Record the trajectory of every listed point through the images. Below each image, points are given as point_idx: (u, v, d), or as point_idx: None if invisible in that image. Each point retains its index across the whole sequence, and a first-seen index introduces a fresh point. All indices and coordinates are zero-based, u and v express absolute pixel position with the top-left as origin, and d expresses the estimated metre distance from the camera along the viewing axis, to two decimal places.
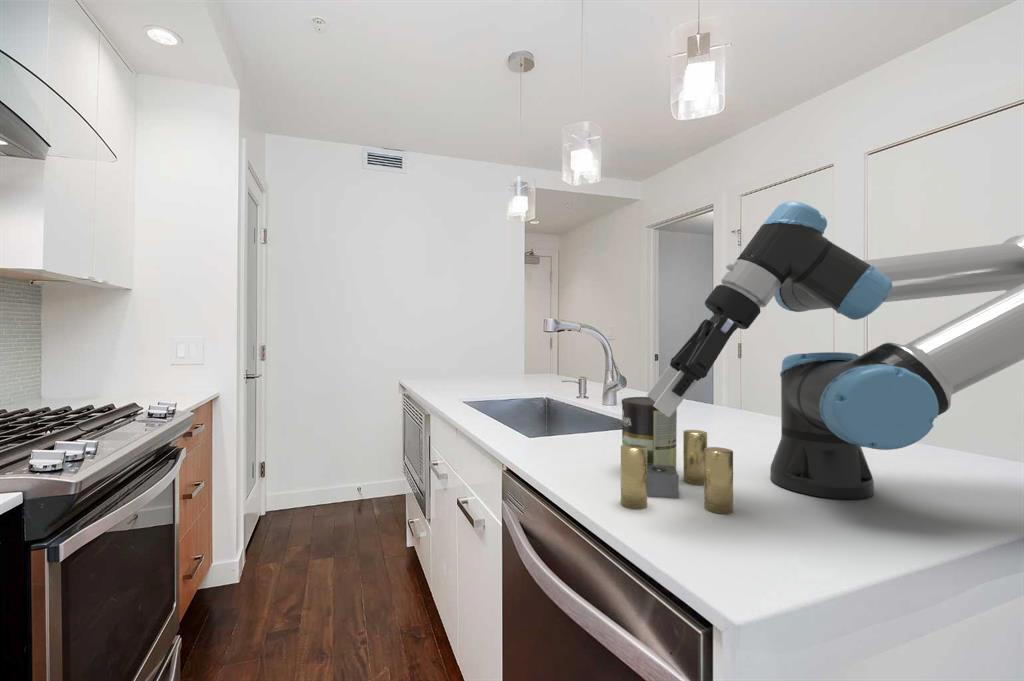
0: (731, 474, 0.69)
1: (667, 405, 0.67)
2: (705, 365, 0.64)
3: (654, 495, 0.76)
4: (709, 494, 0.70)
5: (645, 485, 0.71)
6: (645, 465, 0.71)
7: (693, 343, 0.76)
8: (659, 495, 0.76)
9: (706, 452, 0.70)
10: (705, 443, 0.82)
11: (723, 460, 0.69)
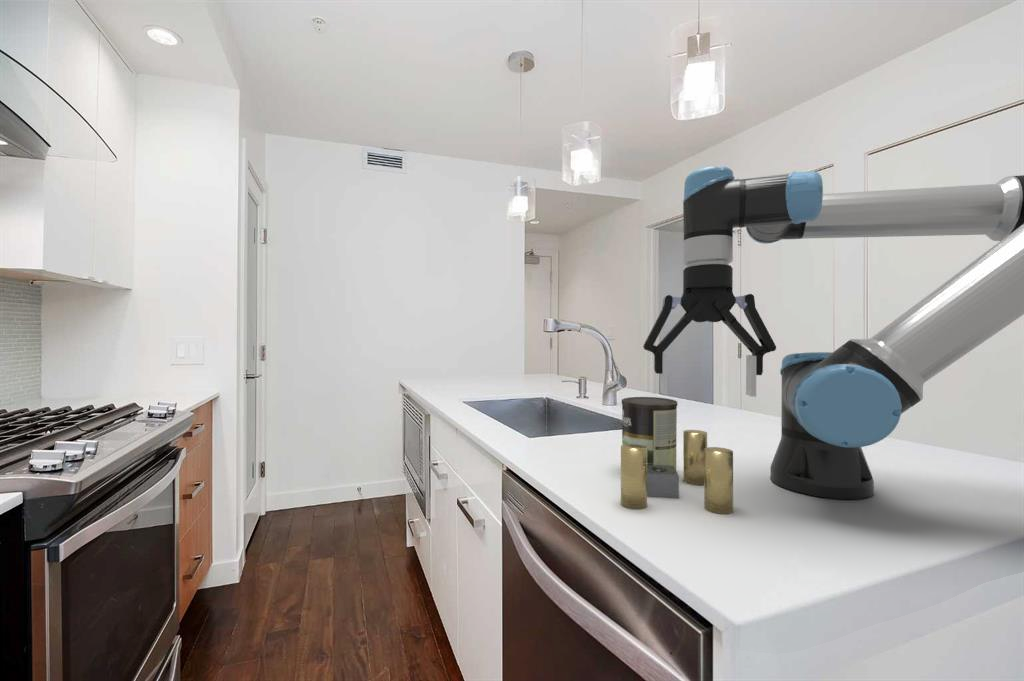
0: (731, 474, 0.69)
1: (661, 385, 0.78)
2: (647, 340, 0.78)
3: (655, 495, 0.76)
4: (709, 494, 0.70)
5: (645, 485, 0.71)
6: (645, 465, 0.71)
7: (726, 324, 0.77)
8: (659, 495, 0.76)
9: (706, 452, 0.70)
10: (705, 443, 0.82)
11: (723, 460, 0.69)
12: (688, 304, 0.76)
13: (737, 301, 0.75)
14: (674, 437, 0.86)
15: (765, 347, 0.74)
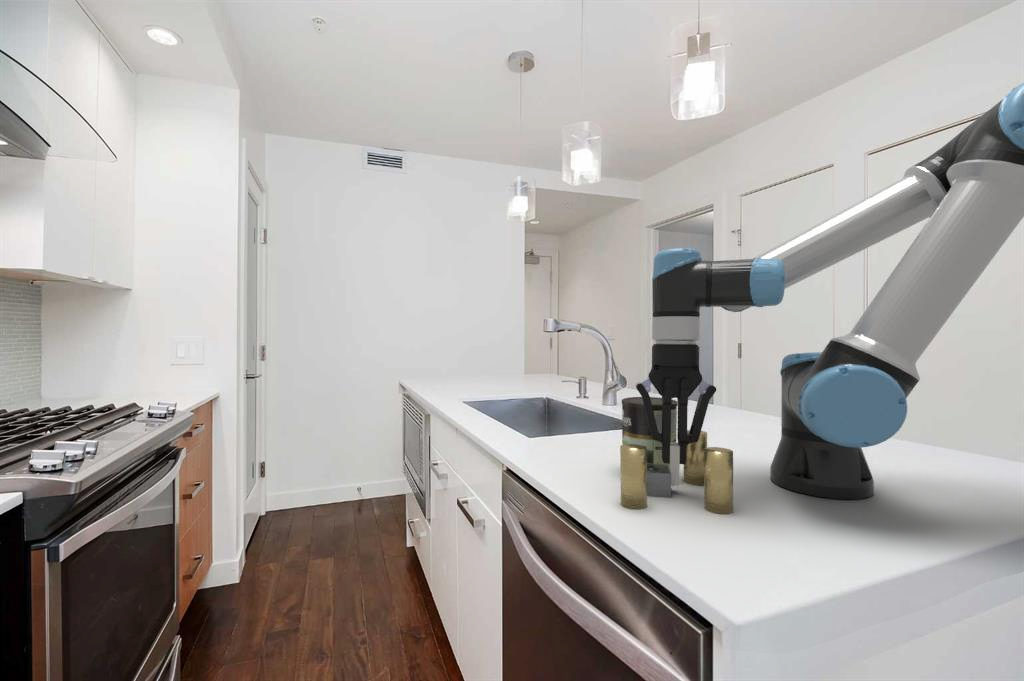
0: (731, 474, 0.69)
1: None
2: (650, 431, 0.78)
3: (647, 493, 0.76)
4: (709, 494, 0.70)
5: (645, 485, 0.71)
6: (645, 464, 0.71)
7: (678, 402, 0.79)
8: (652, 494, 0.76)
9: (706, 452, 0.70)
10: (705, 443, 0.82)
11: (723, 460, 0.69)
12: (658, 380, 0.77)
13: (700, 385, 0.77)
14: (674, 437, 0.86)
15: (690, 434, 0.77)
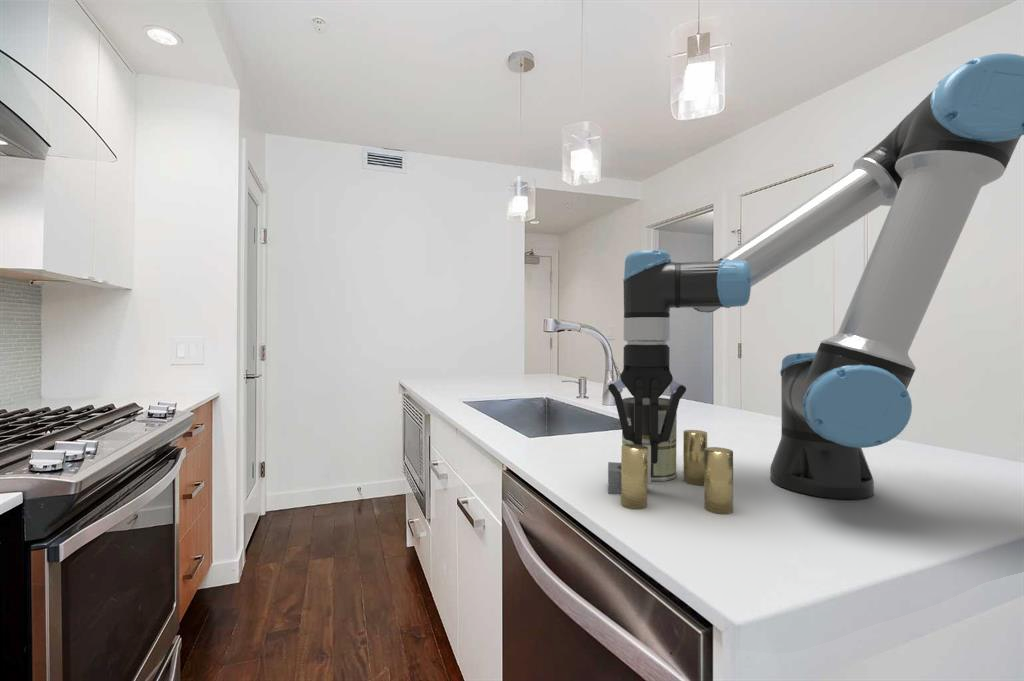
0: (731, 474, 0.69)
1: None
2: None
3: (619, 492, 0.77)
4: (709, 494, 0.70)
5: (645, 485, 0.71)
6: (646, 465, 0.71)
7: (649, 402, 0.80)
8: None
9: (706, 452, 0.70)
10: (705, 443, 0.82)
11: (723, 460, 0.69)
12: (629, 380, 0.78)
13: (671, 385, 0.78)
14: (674, 437, 0.86)
15: (661, 434, 0.78)
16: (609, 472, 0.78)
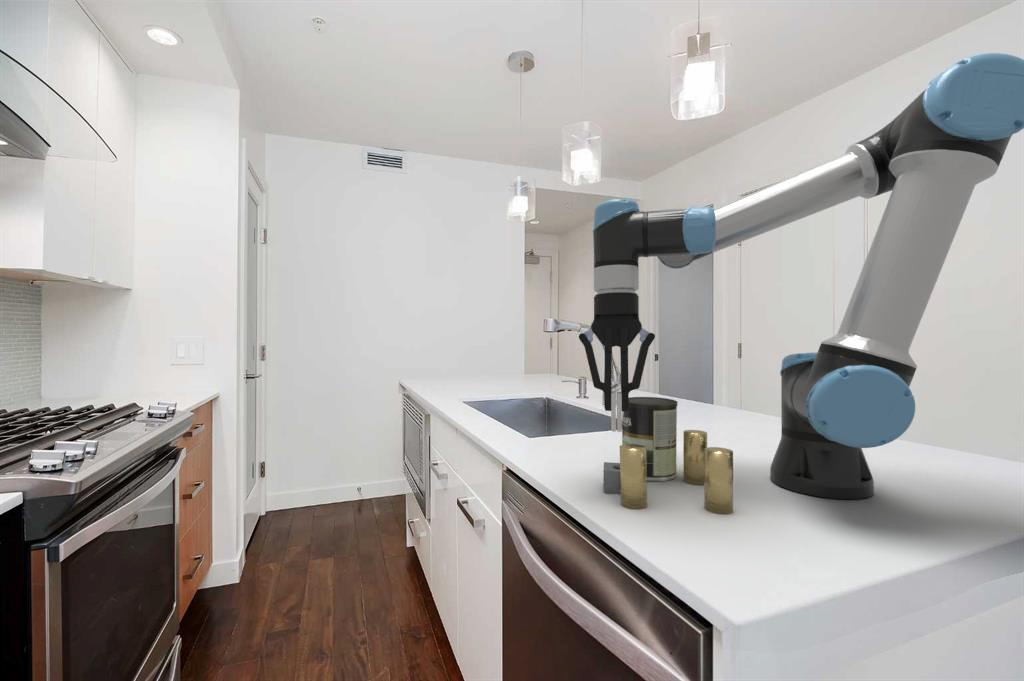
0: (731, 474, 0.69)
1: None
2: None
3: (614, 492, 0.77)
4: (709, 494, 0.70)
5: (645, 484, 0.71)
6: (645, 464, 0.71)
7: (620, 351, 0.81)
8: (618, 492, 0.77)
9: (706, 452, 0.70)
10: (705, 443, 0.82)
11: (723, 460, 0.69)
12: (599, 329, 0.79)
13: (640, 333, 0.79)
14: (674, 437, 0.86)
15: (631, 382, 0.79)
16: (604, 472, 0.78)
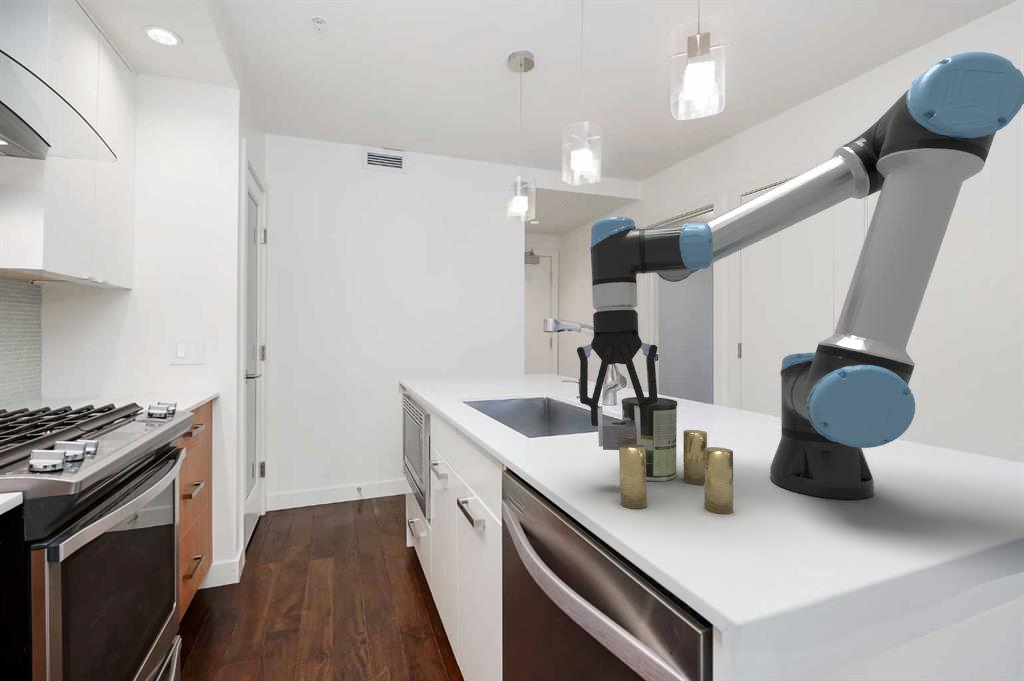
0: (731, 474, 0.69)
1: None
2: None
3: (613, 447, 0.77)
4: (709, 494, 0.70)
5: (645, 484, 0.71)
6: (644, 464, 0.71)
7: (627, 368, 0.80)
8: (618, 447, 0.77)
9: (706, 452, 0.70)
10: (705, 443, 0.82)
11: (723, 460, 0.69)
12: (599, 347, 0.79)
13: (642, 348, 0.78)
14: (674, 437, 0.86)
15: (648, 397, 0.78)
16: (603, 427, 0.78)
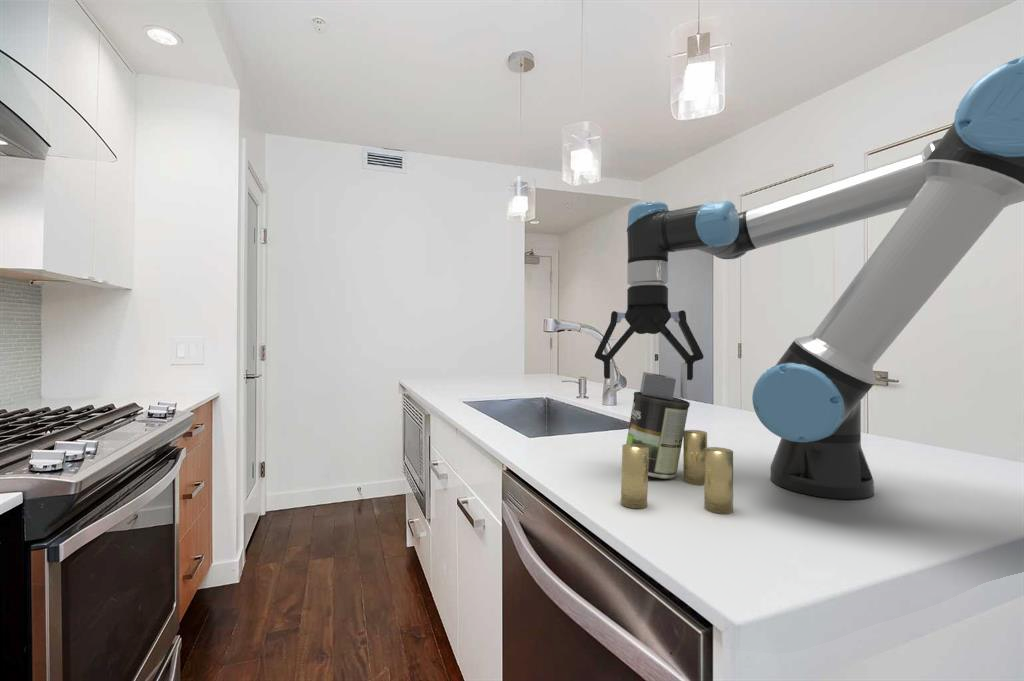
0: (731, 474, 0.69)
1: None
2: (597, 350, 0.91)
3: (652, 394, 0.87)
4: (709, 494, 0.70)
5: (647, 484, 0.72)
6: (647, 464, 0.72)
7: (663, 335, 0.90)
8: (656, 395, 0.87)
9: (706, 452, 0.70)
10: (705, 443, 0.82)
11: (723, 460, 0.69)
12: (630, 318, 0.89)
13: (672, 316, 0.88)
14: (681, 437, 0.86)
15: (695, 356, 0.87)
16: (646, 375, 0.87)
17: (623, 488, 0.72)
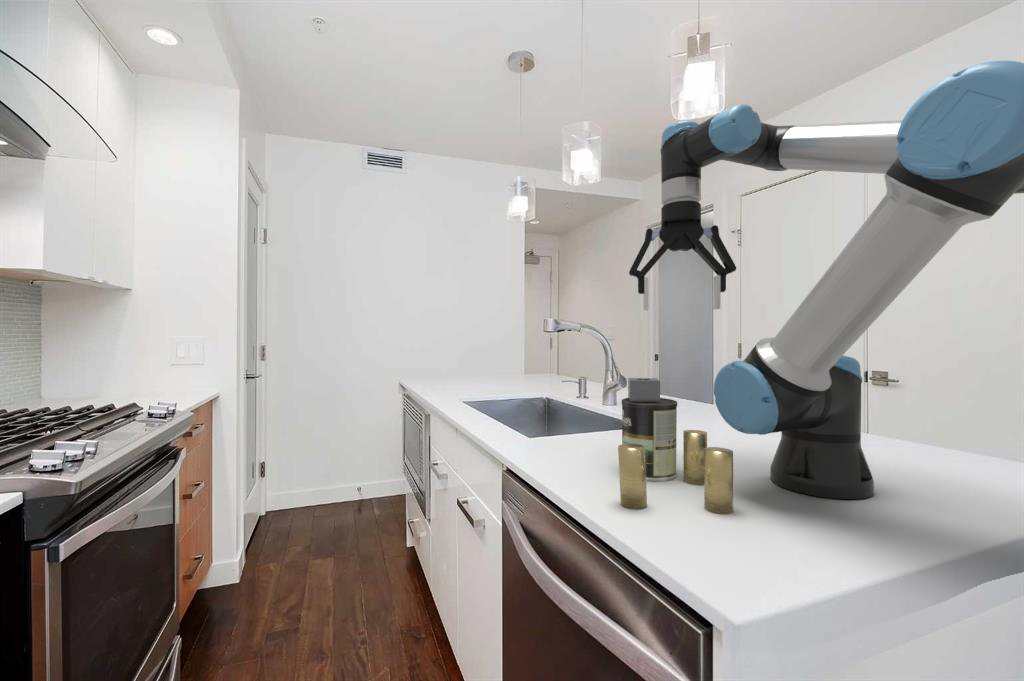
0: (731, 474, 0.69)
1: None
2: None
3: (639, 399, 0.87)
4: (709, 494, 0.70)
5: (645, 483, 0.72)
6: (644, 463, 0.72)
7: (696, 252, 0.94)
8: (643, 399, 0.87)
9: (706, 452, 0.70)
10: (705, 443, 0.82)
11: (723, 460, 0.69)
12: (665, 235, 0.93)
13: (705, 232, 0.92)
14: (674, 437, 0.86)
15: (727, 268, 0.91)
16: (630, 381, 0.88)
17: (623, 490, 0.72)
